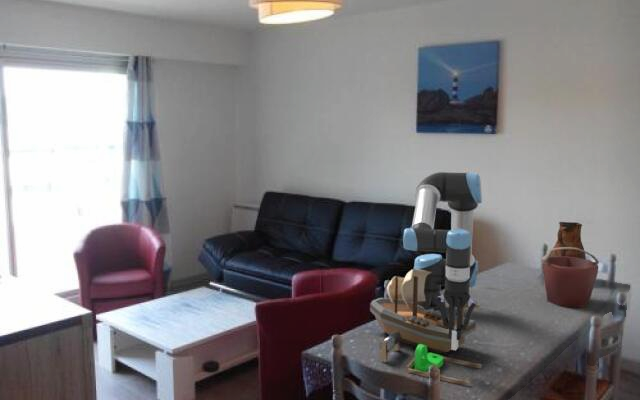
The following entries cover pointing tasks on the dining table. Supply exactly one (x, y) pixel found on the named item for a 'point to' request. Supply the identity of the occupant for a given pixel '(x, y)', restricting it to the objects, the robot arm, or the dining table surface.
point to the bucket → (569, 278)
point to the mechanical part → (426, 359)
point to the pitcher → (569, 240)
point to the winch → (390, 345)
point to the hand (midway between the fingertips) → (454, 348)
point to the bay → (448, 379)
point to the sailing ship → (414, 314)
